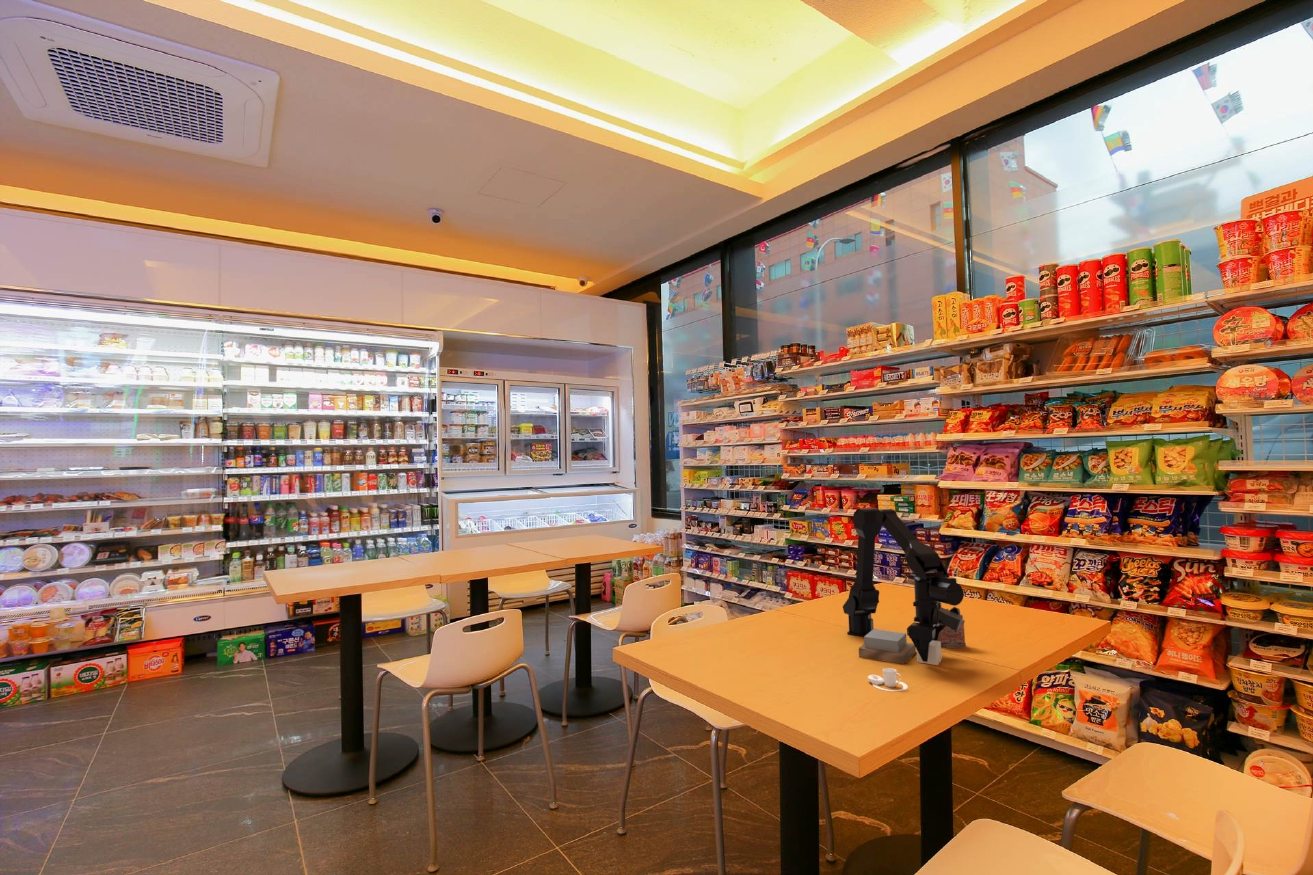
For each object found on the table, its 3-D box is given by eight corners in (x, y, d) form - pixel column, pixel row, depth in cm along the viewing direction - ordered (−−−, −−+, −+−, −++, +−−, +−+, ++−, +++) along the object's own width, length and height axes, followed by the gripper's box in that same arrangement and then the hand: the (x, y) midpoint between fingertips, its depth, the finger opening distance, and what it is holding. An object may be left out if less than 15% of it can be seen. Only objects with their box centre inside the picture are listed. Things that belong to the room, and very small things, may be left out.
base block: (859, 659, 170) (858, 648, 170) (872, 648, 179) (872, 637, 179) (904, 666, 162) (903, 654, 163) (915, 654, 172) (915, 643, 172)
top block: (864, 647, 170) (864, 636, 170) (873, 639, 177) (873, 628, 177) (898, 652, 165) (897, 641, 165) (906, 644, 172) (906, 633, 172)
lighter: (963, 643, 178) (961, 609, 179) (967, 647, 175) (965, 611, 175) (934, 644, 179) (932, 609, 179) (938, 647, 176) (936, 612, 176)
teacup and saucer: (863, 683, 150) (862, 666, 150) (888, 678, 153) (887, 661, 154) (889, 695, 142) (888, 677, 142) (915, 689, 145) (914, 672, 146)
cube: (917, 662, 164) (916, 643, 164) (922, 657, 168) (921, 638, 168) (937, 665, 161) (936, 645, 161) (941, 660, 165) (940, 641, 165)
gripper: (951, 608, 153) (955, 672, 152) (965, 594, 168) (968, 652, 167) (905, 603, 159) (908, 664, 159) (922, 590, 174) (925, 646, 174)
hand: (929, 656), depth 164 cm, fingers open, 9 cm apart
